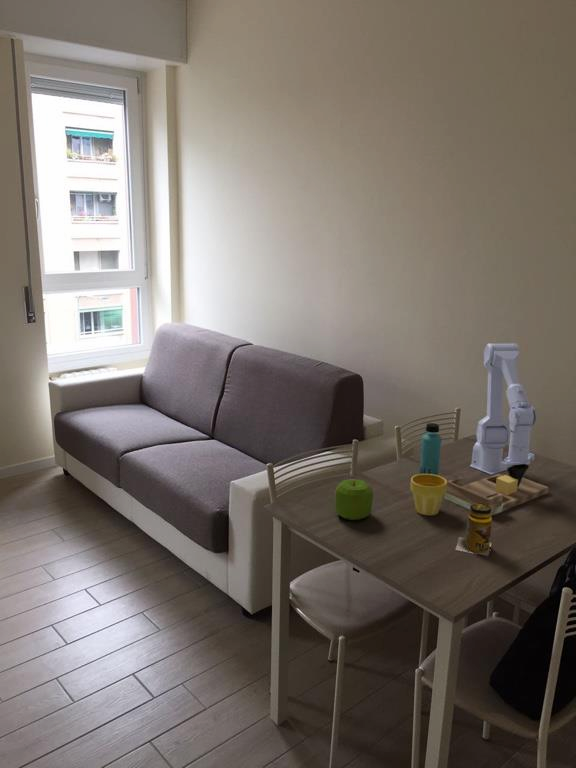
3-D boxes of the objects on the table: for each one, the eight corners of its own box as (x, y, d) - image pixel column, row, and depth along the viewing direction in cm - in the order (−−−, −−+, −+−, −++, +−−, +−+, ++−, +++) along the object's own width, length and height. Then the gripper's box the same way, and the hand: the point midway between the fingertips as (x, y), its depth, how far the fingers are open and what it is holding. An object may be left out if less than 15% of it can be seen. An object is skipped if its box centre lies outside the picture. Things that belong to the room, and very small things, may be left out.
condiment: (489, 557, 166) (493, 514, 163) (455, 550, 169) (458, 508, 166) (491, 544, 173) (495, 502, 170) (458, 538, 176) (462, 497, 173)
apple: (375, 523, 183) (377, 488, 180) (337, 524, 182) (338, 488, 180) (368, 506, 194) (369, 472, 191) (332, 507, 193) (333, 473, 190)
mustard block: (504, 486, 204) (505, 474, 203) (516, 491, 201) (517, 479, 200) (495, 490, 202) (496, 478, 200) (507, 495, 198) (508, 482, 197)
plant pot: (412, 500, 198) (414, 470, 196) (447, 506, 195) (449, 476, 192) (405, 515, 189) (407, 483, 186) (442, 521, 185) (444, 489, 183)
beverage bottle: (438, 479, 214) (442, 421, 209) (439, 487, 208) (443, 428, 203) (418, 477, 215) (422, 420, 210) (418, 485, 209) (422, 426, 204)
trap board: (505, 476, 217) (506, 461, 216) (547, 493, 205) (549, 476, 203) (444, 498, 200) (445, 481, 199) (486, 517, 188) (488, 500, 186)
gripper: (515, 453, 192) (511, 495, 195) (544, 443, 200) (540, 484, 204) (496, 446, 197) (491, 487, 201) (524, 437, 206) (520, 477, 209)
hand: (514, 485), depth 203 cm, fingers closed
